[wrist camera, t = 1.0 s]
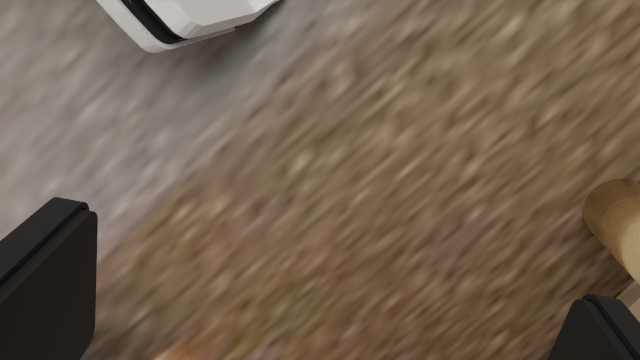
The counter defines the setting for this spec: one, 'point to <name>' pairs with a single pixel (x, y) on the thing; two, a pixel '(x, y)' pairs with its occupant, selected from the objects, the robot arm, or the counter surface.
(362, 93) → the counter surface
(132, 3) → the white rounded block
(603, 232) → the hinge barrel
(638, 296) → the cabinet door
